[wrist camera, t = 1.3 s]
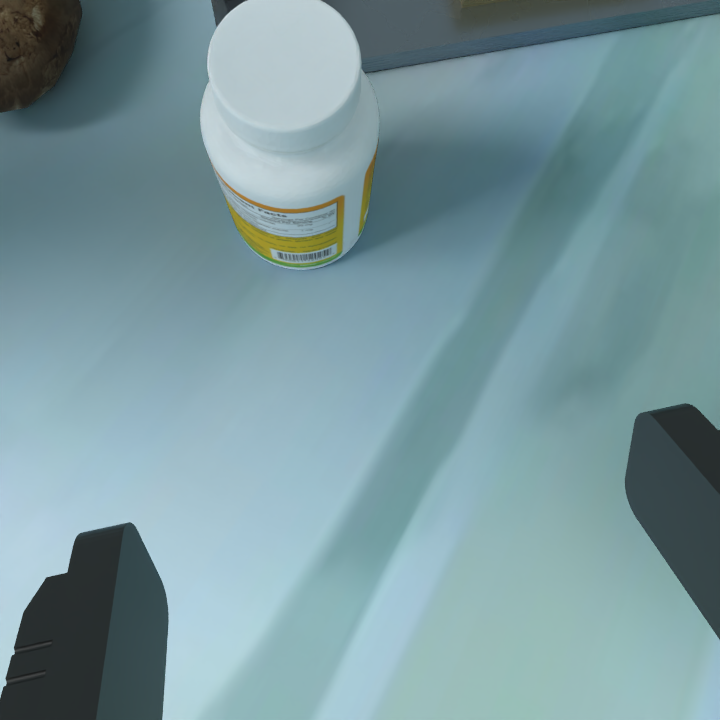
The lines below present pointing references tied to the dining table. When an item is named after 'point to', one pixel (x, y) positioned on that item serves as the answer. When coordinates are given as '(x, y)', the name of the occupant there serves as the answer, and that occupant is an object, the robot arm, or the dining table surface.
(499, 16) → the shaft bench
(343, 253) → the supplement bottle
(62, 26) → the brown rough round lump
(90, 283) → the dining table surface
